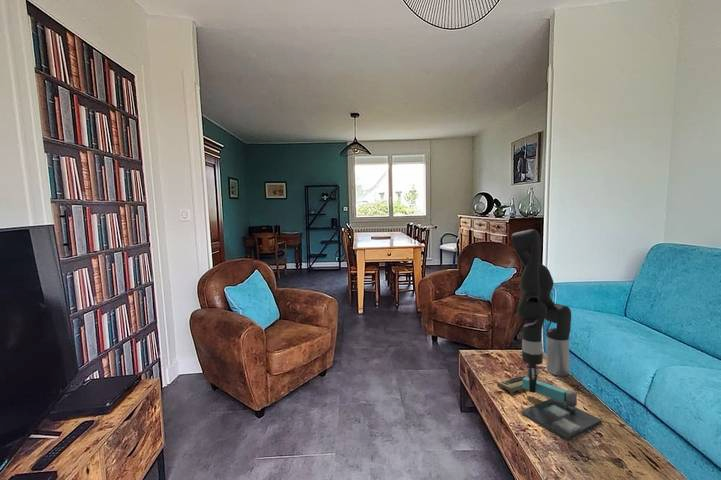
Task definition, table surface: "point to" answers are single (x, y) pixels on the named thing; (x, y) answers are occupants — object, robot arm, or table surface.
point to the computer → (512, 384)
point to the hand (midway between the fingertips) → (532, 391)
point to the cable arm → (553, 392)
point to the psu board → (561, 418)
